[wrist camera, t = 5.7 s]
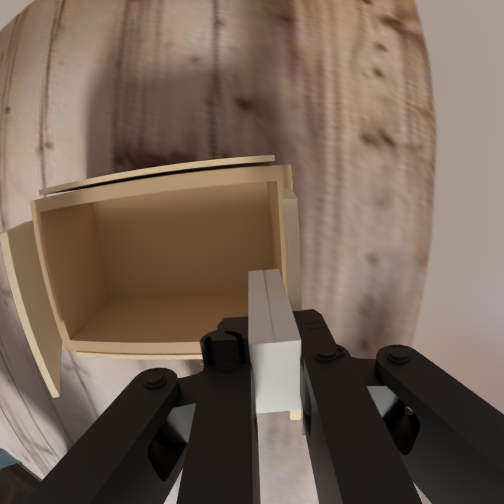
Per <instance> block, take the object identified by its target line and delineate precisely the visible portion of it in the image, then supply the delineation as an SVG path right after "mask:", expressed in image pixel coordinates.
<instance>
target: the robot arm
mask: <svg viewBox="0 0 504 504" xmlns="http://www.w3.org/2000/svg"><path fill="white" fill-rule="evenodd" d="M199 342H200V347H201V352H202V358H203V363H204V368H203V371H202V372H199V373H197V374H195V375H191V376H187V377H183V378H177V374H176V373H175V372H174V371H172V370H170V369H167V368H152V369H148V370H146V371H143V372H141V373H140V374H138V375H137V376H136V377H135V378H134V379H133V380H132V381H131V382H130V383H129V385H128V386H127V387H126V388H125V389H124V390H123V391H122V392H121V393H120V395H119V396H118V397H117V398H116V399H115V400H114V401H113V402H112V403H111V405H110V406H109V407H108V408H107V409H106V410H105V411H104V412H103V413H102V415H101V416H100V417H99V418H98V419H97V420H96V421H95V422H94V423H93V425H92V426H91V427H90V428H89V429H88V430H87V431H86V432H85V433H84V435H83V436H82V437H81V438H80V439H79V440H78V441H77V442H76V443H75V445H74V446H73V447H72V448H71V449H70V450H69V451H68V452H67V453H66V455H65V456H64V457H63V458H62V459H61V460H60V461H59V462H58V463H57V465H56V466H55V467H54V468H53V469H52V470H51V471H50V472H49V473H48V475H47V476H46V477H45V478H44V479H43V480H42V479H41V478H39V477H38V476H37V475H35V474H34V473H33V472H32V471H30V470H29V469H28V468H27V467H26V466H24V465H23V464H22V462H21V461H19V460H17V459H15V458H14V457H13V456H12V455H10V454H9V453H8V452H7V451H6V450H4V449H2V448H0V504H164V502H165V500H166V498H167V496H168V495H169V493H170V491H171V489H172V487H173V485H174V484H175V482H176V480H177V478H178V476H179V474H180V472H181V471H182V469H183V471H182V477H181V482H180V487H179V493H178V498H177V504H260V478H259V451H258V425H257V416H256V413H268V412H280V411H290V410H298V409H301V403H302V407H303V430H302V435H306V439H307V444H308V449H309V454H310V459H311V464H312V469H313V474H314V479H315V484H316V489H317V494H318V500H319V504H422V502H421V499H420V497H419V495H418V493H417V490H416V488H415V486H414V484H413V482H414V483H415V484H416V485H417V486H418V488H419V489H420V490H421V491H422V492H423V494H424V495H425V496H426V497H427V498H428V499H429V501H431V503H432V504H504V415H503V414H502V413H501V412H499V411H498V410H497V409H495V408H494V407H493V406H491V405H490V404H489V403H487V402H486V401H485V400H483V399H482V398H481V397H479V396H478V395H476V394H475V393H474V392H472V391H471V390H469V389H468V388H467V387H465V386H464V385H463V384H462V383H460V382H459V381H457V380H456V379H455V378H453V377H452V376H450V375H449V374H448V373H446V372H445V371H444V370H442V369H441V368H440V367H438V366H437V365H435V364H434V363H433V362H431V361H430V360H428V359H427V358H426V357H424V356H423V355H422V354H420V353H419V352H417V351H416V350H415V349H413V348H411V347H409V346H404V345H389V346H385V347H383V348H382V349H380V350H379V351H378V353H377V354H376V359H359V358H353V357H351V356H350V354H349V352H348V351H347V350H346V349H345V348H344V347H342V346H340V345H337V344H336V343H335V341H334V339H333V337H332V335H331V333H330V331H329V329H328V327H327V325H326V323H325V321H324V319H323V317H322V315H321V314H320V313H318V312H317V311H315V310H314V309H311V310H301V311H292V309H291V306H290V302H289V299H288V296H287V293H286V290H285V287H284V283H283V280H282V277H281V274H280V271H279V269H270V270H257V271H248V316H244V317H230V318H224V319H223V320H222V321H221V322H220V323H219V324H218V327H217V330H215V331H212V332H209V333H207V334H206V335H204V336H203V337H202V338H201V340H200V341H199ZM407 407H409V408H410V409H411V410H412V411H413V412H412V411H410V409H408V408H407ZM412 481H413V482H412Z"/></svg>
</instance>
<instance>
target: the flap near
mask: <svg viewBox="0 0 504 504" xmlns="http://www.w3.org/2000/svg"><path fill="white" fill-rule="evenodd" d="M283 215H284V233H285V251H286V272H287V296H288V299H289V302H290V306H291V309H292V311H301V272H300V244H299V222H298V203H297V198H296V196H295V194H294V193H293V191H292V190H291V189H283ZM290 420H301V409H298V410H290Z"/></svg>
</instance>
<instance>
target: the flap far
mask: <svg viewBox="0 0 504 504" xmlns="http://www.w3.org/2000/svg"><path fill="white" fill-rule="evenodd" d="M0 241H1V246H2V252H3V257H4V261H5V266H6V270H7V274H8V278H9V282H10V286H11V290H12V294H13V297H14V301H15V304H16V307H17V311H18V314H19V317H20V320H21V323H22V326H23V329H24V332H25V334H26V337H27V340H28V342H29V345H30V348H31V350H32V353H33V355H34V358H35V360H36V362H37V365H38V367H39V369H40V372H41V374H42V376H43V378H44V381H45V383H46V385H47V387H48V389H49V391H50V393H51V395H52V397H53V398H55V397H60V366H61V350H62V339H61V336H60V333H59V330H58V327H57V324H56V321H55V317H54V314H53V311H52V307H51V304H50V300H49V297H48V293H47V289H46V285H45V281H44V277H43V273H42V268H41V264H40V259H39V254H38V249H37V244H36V238H35V232H34V226H33V221H28V222H25V223H23V224H21V225H18V226H16V227H14V228H11V229H9V230H7V231H5V232H2V233H0Z"/></svg>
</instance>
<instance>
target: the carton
mask: <svg viewBox="0 0 504 504" xmlns="http://www.w3.org/2000/svg"><path fill="white" fill-rule="evenodd" d="M274 161H275V155H264V156H250V157H237V158H226V159H215V160H206V161H197V162H188V163H180V164H173V165H166V166H159V167H152V168H145V169H139V170H133V171H127V172H122V173H116V174H111V175H105V176H100V177H95V178H90V179H85V180H81V181H76V182H72V183H67V184H63V185H59V186H54V187H50V188H46V189H42V190H39V194H40V195H45V194H52V193H59V192H66V191H74V190H79V191H74V192H69V193H64V194H60V195H55V196H51V197H46V198H42V199H38V200H34V201H30V204H31V212H32V220H33V226H34V232H35V238H36V244H37V249H38V254H39V259H40V264H41V268H42V273H43V277H44V281H45V285H46V289H47V293H48V297H49V300H50V304H51V307H52V311H53V314H54V317H55V321H56V324H57V327H58V330H59V333H60V336H61V339H62V342H63V345H64V348H65V350H77V351H76V354H77V356H86V357H100V358H120V359H203V358H202V352H201V347H200V342H199V341H200V340H201V338H202V337H203V336H204V335H206V334H207V333H209V332H212V331H215V330H217V327H218V324H219V323H220V322H221V321H222V320H223V319H224V318H230V317H244V316H248V271H257V270H270V269H279V271H280V274H281V277H282V280H283V283H284V287H285V290H286V293H287V272H286V251H285V233H284V215H283V189H291V190H292V191H293V183H292V168H291V165H274V166H262V165H269V164H271V163H272V162H274ZM249 166H259V167H249ZM236 167H245V168H236ZM225 168H233V169H225ZM214 169H222V170H214ZM205 170H212V171H205ZM196 171H202V172H196ZM187 172H193V173H187ZM179 173H185V174H179ZM171 174H177V175H171ZM164 175H169V176H164ZM156 176H162V177H156ZM149 177H154V178H149ZM143 178H148V179H143ZM136 179H141V180H136ZM130 180H134V181H130ZM124 181H128V182H124ZM118 182H122V183H118ZM112 183H116V184H112ZM107 184H110V185H107ZM101 185H105V186H101ZM96 186H99V187H96ZM90 187H94V188H90ZM85 188H89V189H85ZM80 189H84V190H80Z"/></svg>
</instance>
